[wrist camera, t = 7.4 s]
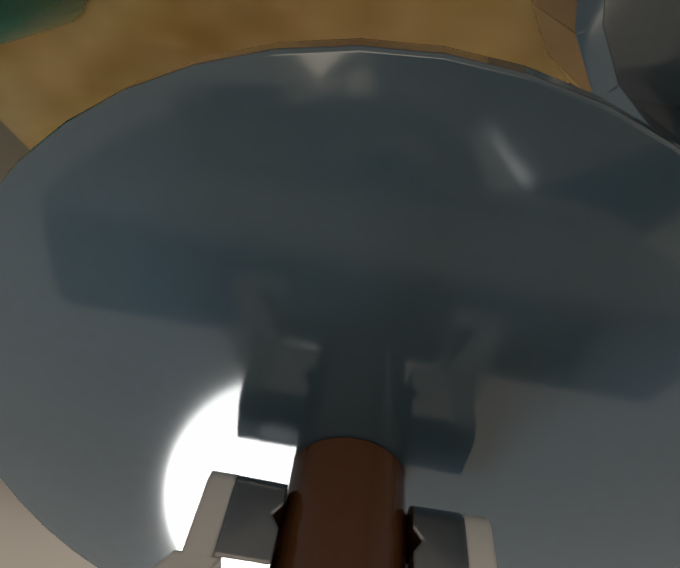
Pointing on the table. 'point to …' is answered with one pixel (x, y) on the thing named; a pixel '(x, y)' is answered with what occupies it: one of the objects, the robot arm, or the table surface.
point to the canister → (619, 54)
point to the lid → (347, 309)
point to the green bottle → (35, 16)
